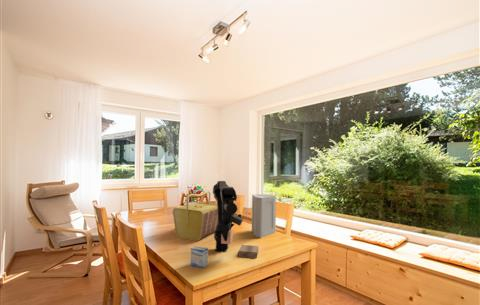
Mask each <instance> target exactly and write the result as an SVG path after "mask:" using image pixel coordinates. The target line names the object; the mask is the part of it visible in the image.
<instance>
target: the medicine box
mask: <svg viewBox="0 0 480 305" xmlns="http://www.w3.org/2000/svg"><path fill="white" fill-rule="evenodd" d="M189 262H190V266H191V267H196V268H201V269H204V268H206V267H207V266H208V265H209V248H208V247H203V246H198V245H194V246H193V247H191V248H190V260H189Z"/></svg>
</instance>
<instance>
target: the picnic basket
mask: <svg viewBox="0 0 480 305" xmlns="http://www.w3.org/2000/svg"><path fill="white" fill-rule="evenodd" d="M207 193H208V202H201V201H197V202H193V203H190V204H189V199H190V197H192V196H194V198H195V197H197V198H198V197H202V196H204V195H205V194H207ZM211 194H212V193H211V192H210V191H209V190H206V191H203V192H201V193H200V194H199V193H192V194H188V195H187V196H186V204H185V205H181V206H178V207H174V208H173V209H172V217H173V222H174V223H173V224H174V229H175V235H176V236H177V237H178V238H180V239H184V240H191V241H195V242H196V241H199V240H201V239H203V238H205V237H207V236H208V235H211V234H212V233H215V230H216V227H217V225H218V213H217V203H212V202H211V196H212V195H211Z"/></svg>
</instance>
